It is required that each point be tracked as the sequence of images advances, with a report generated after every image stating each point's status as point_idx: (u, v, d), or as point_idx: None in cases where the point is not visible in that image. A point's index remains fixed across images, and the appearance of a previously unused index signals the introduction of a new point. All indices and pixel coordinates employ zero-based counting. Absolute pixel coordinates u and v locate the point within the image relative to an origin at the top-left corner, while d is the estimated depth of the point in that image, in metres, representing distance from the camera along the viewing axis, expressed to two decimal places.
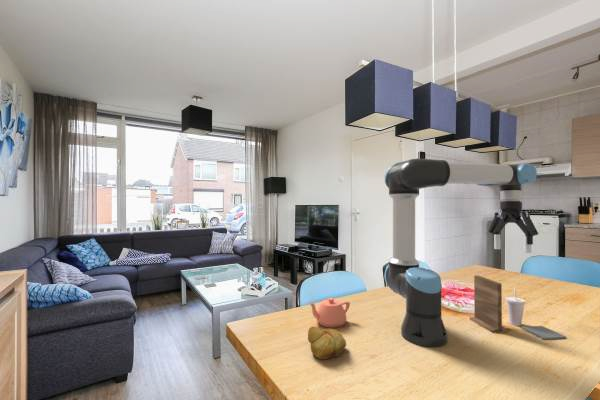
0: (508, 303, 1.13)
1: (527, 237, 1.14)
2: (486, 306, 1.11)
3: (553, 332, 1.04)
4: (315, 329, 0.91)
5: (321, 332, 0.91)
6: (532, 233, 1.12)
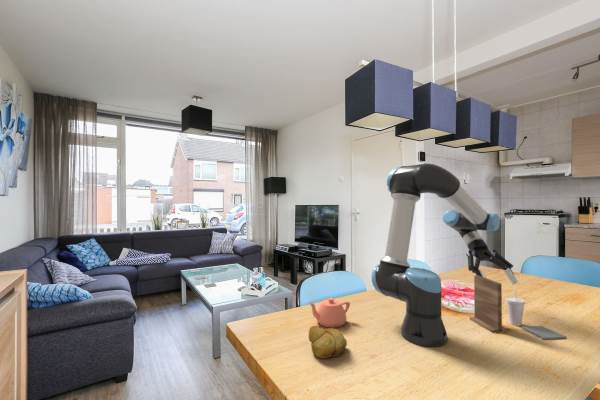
0: (508, 303, 1.13)
1: None
2: (486, 306, 1.11)
3: (553, 332, 1.04)
4: (316, 328, 0.92)
5: (322, 331, 0.91)
6: (512, 265, 1.27)
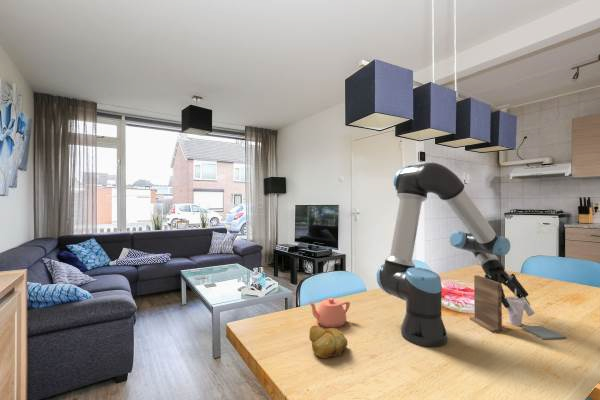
0: None
1: None
2: (486, 306, 1.11)
3: (553, 332, 1.04)
4: (316, 328, 0.92)
5: (322, 331, 0.92)
6: (527, 294, 1.15)
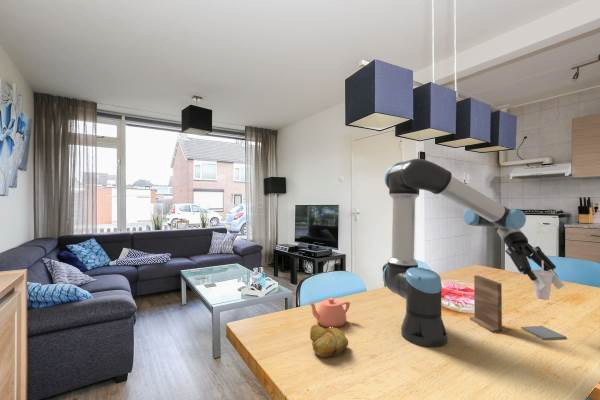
0: None
1: None
2: (486, 306, 1.11)
3: (553, 332, 1.04)
4: (317, 327, 0.93)
5: (323, 330, 0.92)
6: (554, 266, 1.07)
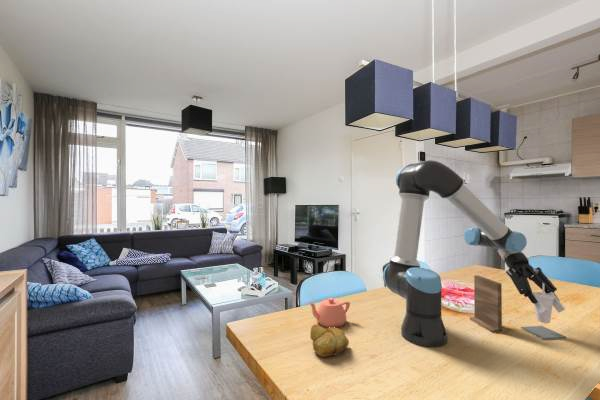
0: None
1: None
2: (486, 306, 1.11)
3: (553, 332, 1.04)
4: (317, 327, 0.93)
5: (323, 330, 0.92)
6: (555, 288, 1.07)
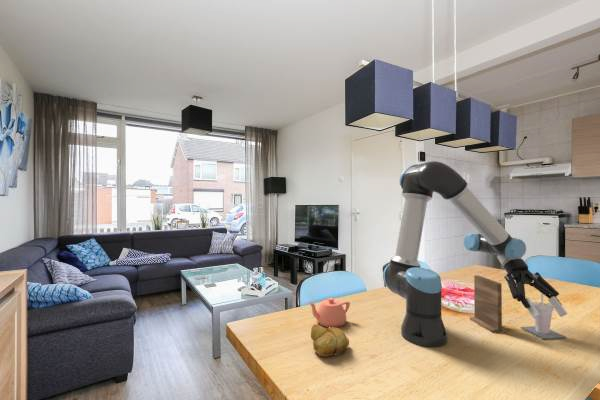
0: None
1: None
2: (486, 306, 1.11)
3: (553, 332, 1.04)
4: (318, 327, 0.93)
5: (323, 330, 0.92)
6: (557, 293, 1.07)
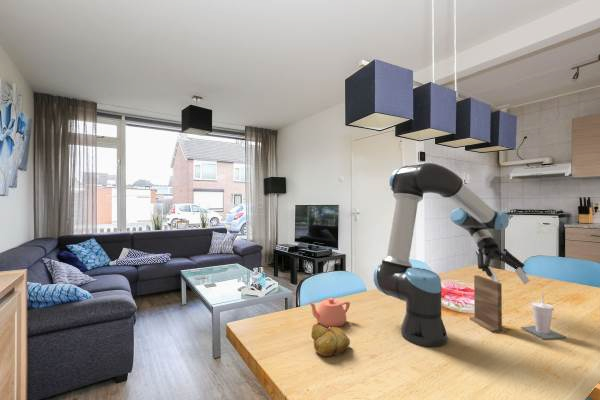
0: (535, 309, 1.05)
1: (520, 268, 1.22)
2: (486, 306, 1.11)
3: (553, 332, 1.04)
4: (318, 326, 0.93)
5: (324, 330, 0.93)
6: (523, 264, 1.23)
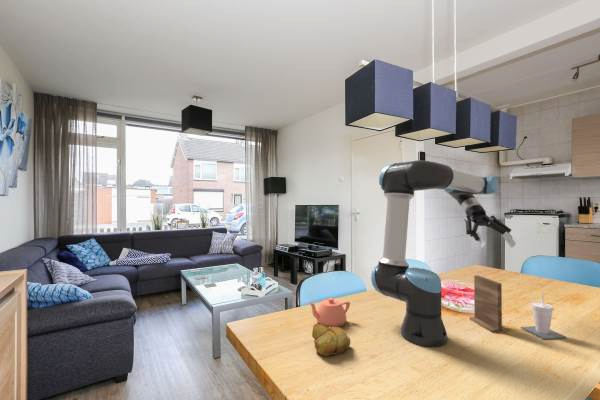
0: (535, 309, 1.05)
1: None
2: (486, 306, 1.11)
3: (553, 332, 1.04)
4: (319, 326, 0.94)
5: (325, 329, 0.93)
6: (510, 229, 1.26)
